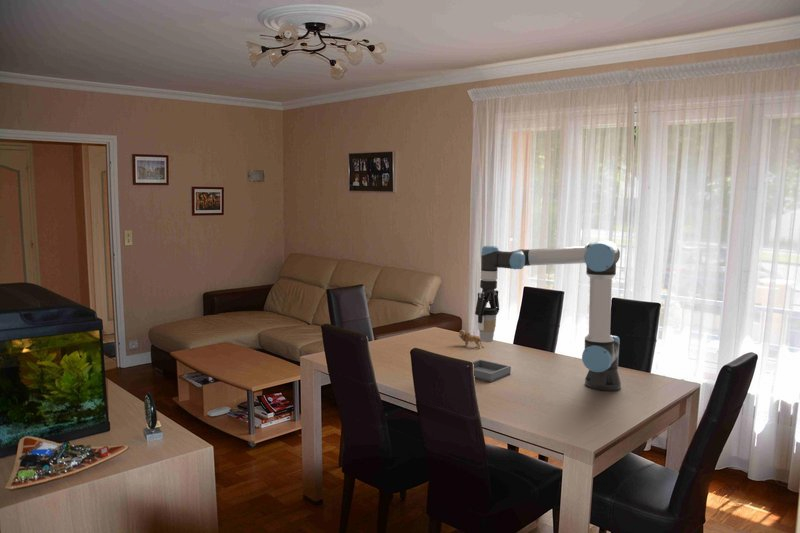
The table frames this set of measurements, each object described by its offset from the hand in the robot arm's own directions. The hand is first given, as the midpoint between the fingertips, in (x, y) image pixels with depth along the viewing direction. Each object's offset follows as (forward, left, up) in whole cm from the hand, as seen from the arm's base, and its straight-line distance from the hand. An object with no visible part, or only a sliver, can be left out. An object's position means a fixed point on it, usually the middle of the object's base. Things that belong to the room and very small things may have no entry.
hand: (486, 328), depth 278 cm
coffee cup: (0, 0, -6) cm, 6 cm away
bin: (0, 0, -22) cm, 22 cm away
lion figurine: (+35, -38, -22) cm, 56 cm away
